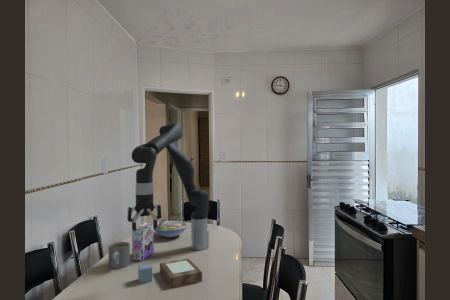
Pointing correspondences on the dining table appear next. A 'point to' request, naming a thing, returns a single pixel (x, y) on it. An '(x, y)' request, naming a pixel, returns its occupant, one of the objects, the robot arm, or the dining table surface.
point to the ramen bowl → (170, 228)
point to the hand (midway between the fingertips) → (144, 229)
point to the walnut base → (180, 272)
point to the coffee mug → (119, 255)
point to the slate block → (145, 273)
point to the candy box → (142, 242)
